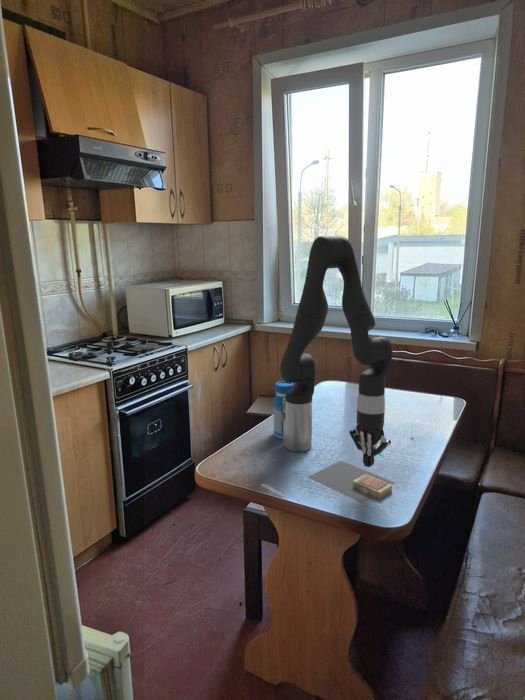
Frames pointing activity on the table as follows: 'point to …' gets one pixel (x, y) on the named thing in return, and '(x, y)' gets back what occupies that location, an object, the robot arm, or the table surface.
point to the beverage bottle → (280, 406)
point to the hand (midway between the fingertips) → (368, 465)
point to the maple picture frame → (372, 486)
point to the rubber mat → (345, 479)
